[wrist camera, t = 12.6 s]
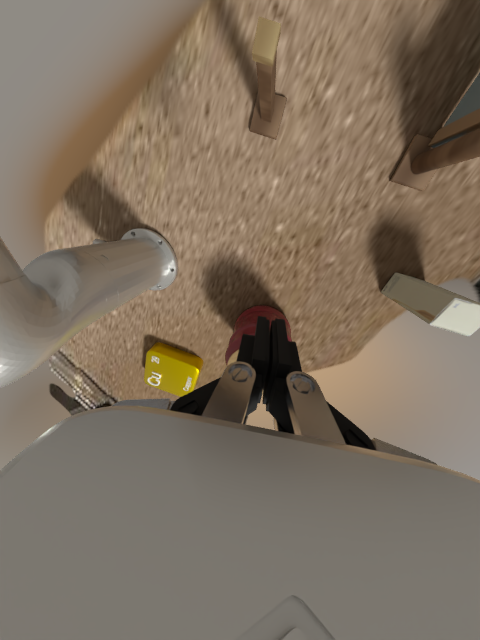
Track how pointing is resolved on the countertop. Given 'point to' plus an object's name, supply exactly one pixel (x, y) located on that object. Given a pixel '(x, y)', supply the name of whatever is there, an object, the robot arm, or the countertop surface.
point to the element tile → (172, 369)
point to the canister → (251, 328)
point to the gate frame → (416, 160)
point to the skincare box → (434, 304)
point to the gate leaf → (461, 117)
